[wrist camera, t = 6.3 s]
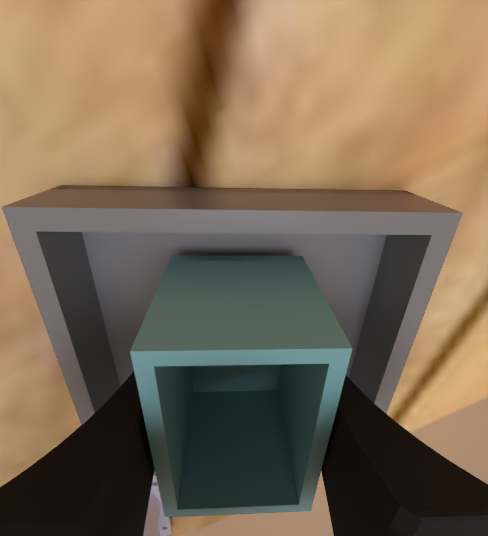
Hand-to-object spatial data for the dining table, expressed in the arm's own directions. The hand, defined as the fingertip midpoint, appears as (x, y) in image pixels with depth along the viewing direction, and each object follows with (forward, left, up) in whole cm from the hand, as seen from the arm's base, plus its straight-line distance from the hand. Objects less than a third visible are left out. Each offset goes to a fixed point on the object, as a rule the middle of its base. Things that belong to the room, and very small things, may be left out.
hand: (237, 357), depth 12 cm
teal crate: (0, 0, -2) cm, 2 cm away
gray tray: (0, 0, -3) cm, 3 cm away
